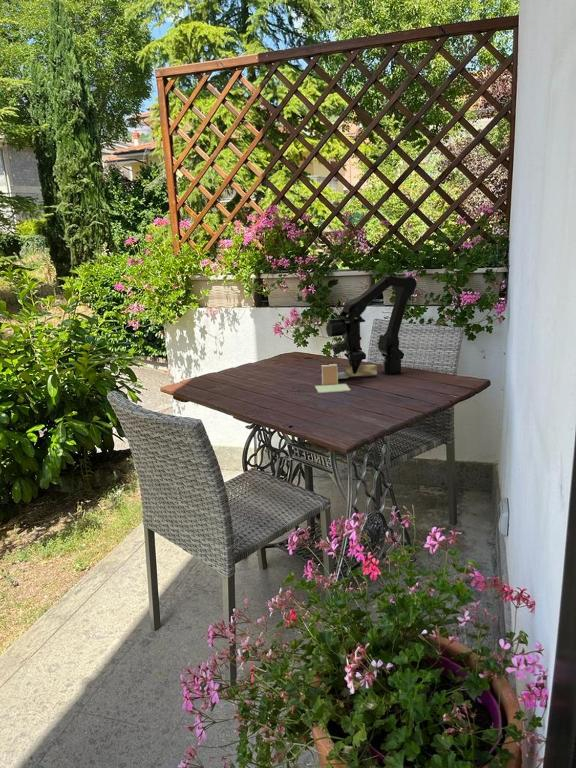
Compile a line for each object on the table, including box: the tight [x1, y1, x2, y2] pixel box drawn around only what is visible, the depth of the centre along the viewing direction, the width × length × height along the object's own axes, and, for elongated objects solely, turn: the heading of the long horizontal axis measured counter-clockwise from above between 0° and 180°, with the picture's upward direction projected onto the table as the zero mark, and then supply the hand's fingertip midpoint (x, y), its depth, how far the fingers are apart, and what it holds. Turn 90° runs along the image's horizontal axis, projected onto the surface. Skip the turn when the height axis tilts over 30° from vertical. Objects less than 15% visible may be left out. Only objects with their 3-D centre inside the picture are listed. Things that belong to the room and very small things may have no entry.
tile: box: [321, 363, 339, 386], centre depth 217 cm, size 6×2×8 cm, turn 95°
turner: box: [338, 363, 378, 380], centre depth 225 cm, size 21×7×4 cm, turn 95°
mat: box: [314, 383, 351, 394], centre depth 213 cm, size 12×9×1 cm
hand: (353, 372), depth 226 cm, fingers closed on turner, 3 cm apart
